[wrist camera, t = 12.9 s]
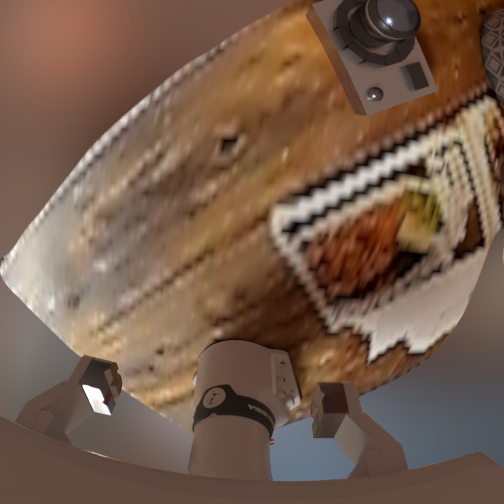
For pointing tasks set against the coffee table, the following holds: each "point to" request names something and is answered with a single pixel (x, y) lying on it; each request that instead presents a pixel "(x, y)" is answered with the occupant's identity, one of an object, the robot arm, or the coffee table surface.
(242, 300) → the coffee table surface
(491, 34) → the planter
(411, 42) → the camera body
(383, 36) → the lens
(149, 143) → the coffee table surface
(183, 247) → the coffee table surface
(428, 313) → the coffee table surface
